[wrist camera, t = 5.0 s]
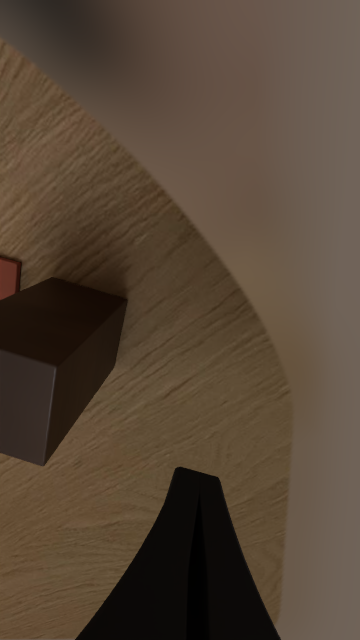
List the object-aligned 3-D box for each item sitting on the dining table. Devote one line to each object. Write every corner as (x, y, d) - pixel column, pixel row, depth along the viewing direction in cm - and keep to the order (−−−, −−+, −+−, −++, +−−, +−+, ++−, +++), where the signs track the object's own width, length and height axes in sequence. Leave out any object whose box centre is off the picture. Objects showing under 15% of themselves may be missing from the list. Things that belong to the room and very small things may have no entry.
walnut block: (128, 298, 19) (57, 366, 11) (114, 368, 20) (43, 467, 13) (51, 276, 19) (-68, 328, 11) (43, 346, 20) (-66, 432, 13)
